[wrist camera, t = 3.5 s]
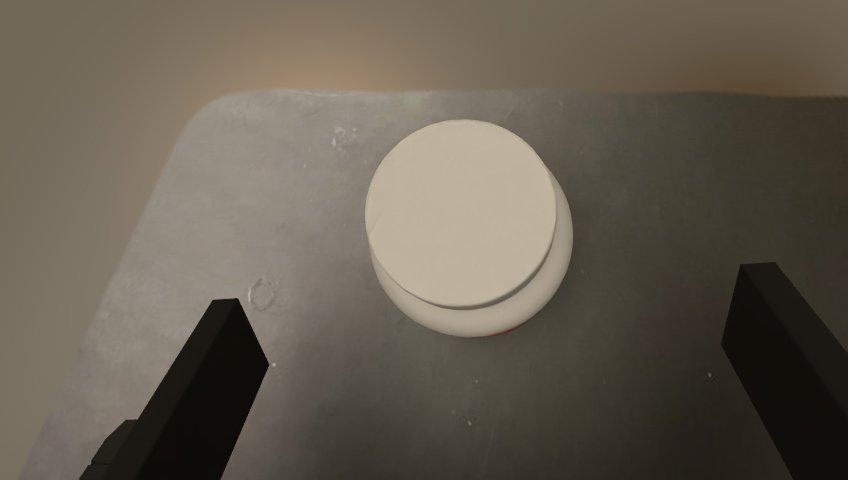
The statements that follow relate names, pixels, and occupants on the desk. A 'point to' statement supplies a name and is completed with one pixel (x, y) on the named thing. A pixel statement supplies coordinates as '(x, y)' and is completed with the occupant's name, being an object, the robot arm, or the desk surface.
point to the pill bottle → (467, 228)
